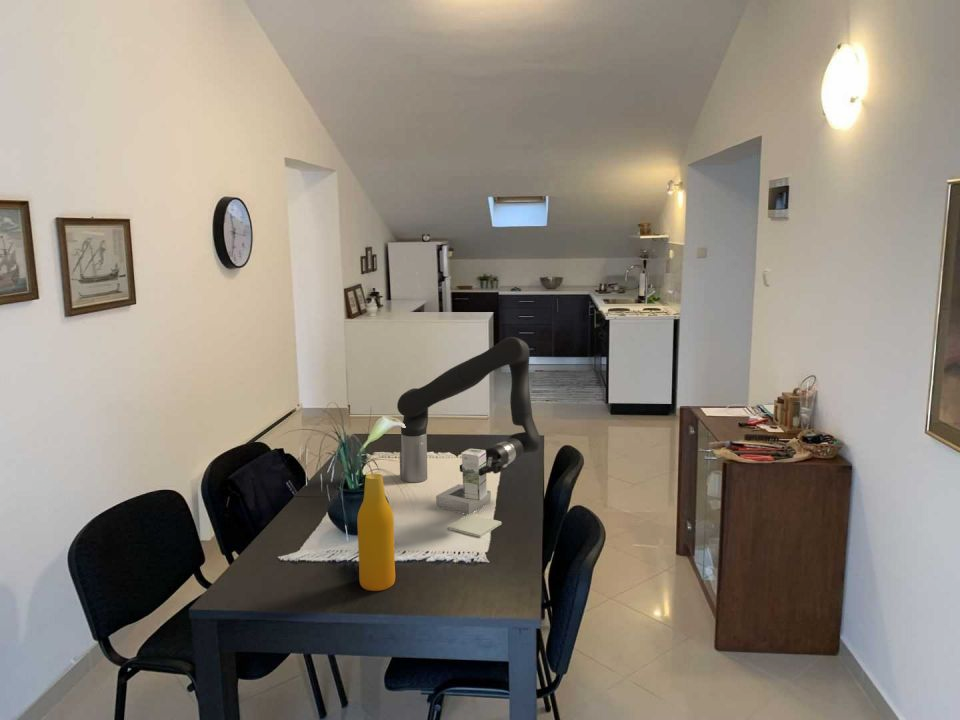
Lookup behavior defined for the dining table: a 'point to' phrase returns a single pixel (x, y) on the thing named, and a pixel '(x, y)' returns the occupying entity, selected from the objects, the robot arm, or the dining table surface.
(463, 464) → the syrup box
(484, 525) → the pad
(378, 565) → the beer bottle
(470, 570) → the dining table surface
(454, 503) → the housing
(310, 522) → the dining table surface
